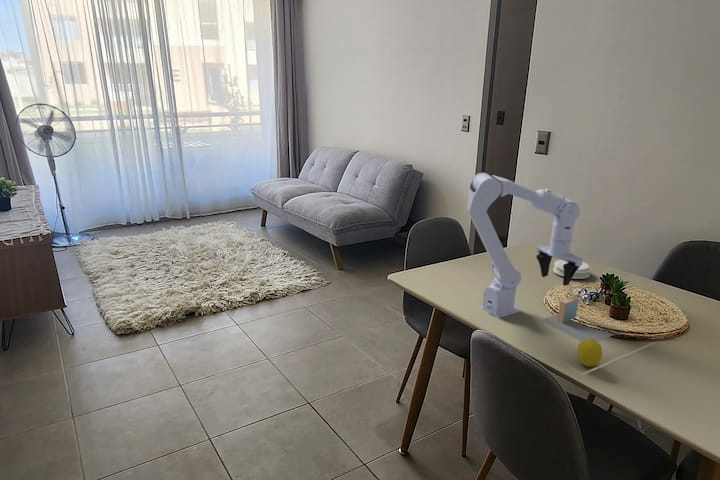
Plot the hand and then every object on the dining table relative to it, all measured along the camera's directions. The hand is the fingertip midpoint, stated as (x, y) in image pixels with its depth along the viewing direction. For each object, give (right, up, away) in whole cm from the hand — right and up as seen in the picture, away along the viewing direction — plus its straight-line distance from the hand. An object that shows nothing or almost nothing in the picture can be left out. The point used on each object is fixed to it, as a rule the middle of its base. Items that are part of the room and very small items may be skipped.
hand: (555, 280), depth 143 cm
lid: (+19, -1, +31) cm, 37 cm away
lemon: (-3, -20, -26) cm, 33 cm away
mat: (+3, -13, -8) cm, 16 cm away
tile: (+2, -11, -4) cm, 12 cm away
